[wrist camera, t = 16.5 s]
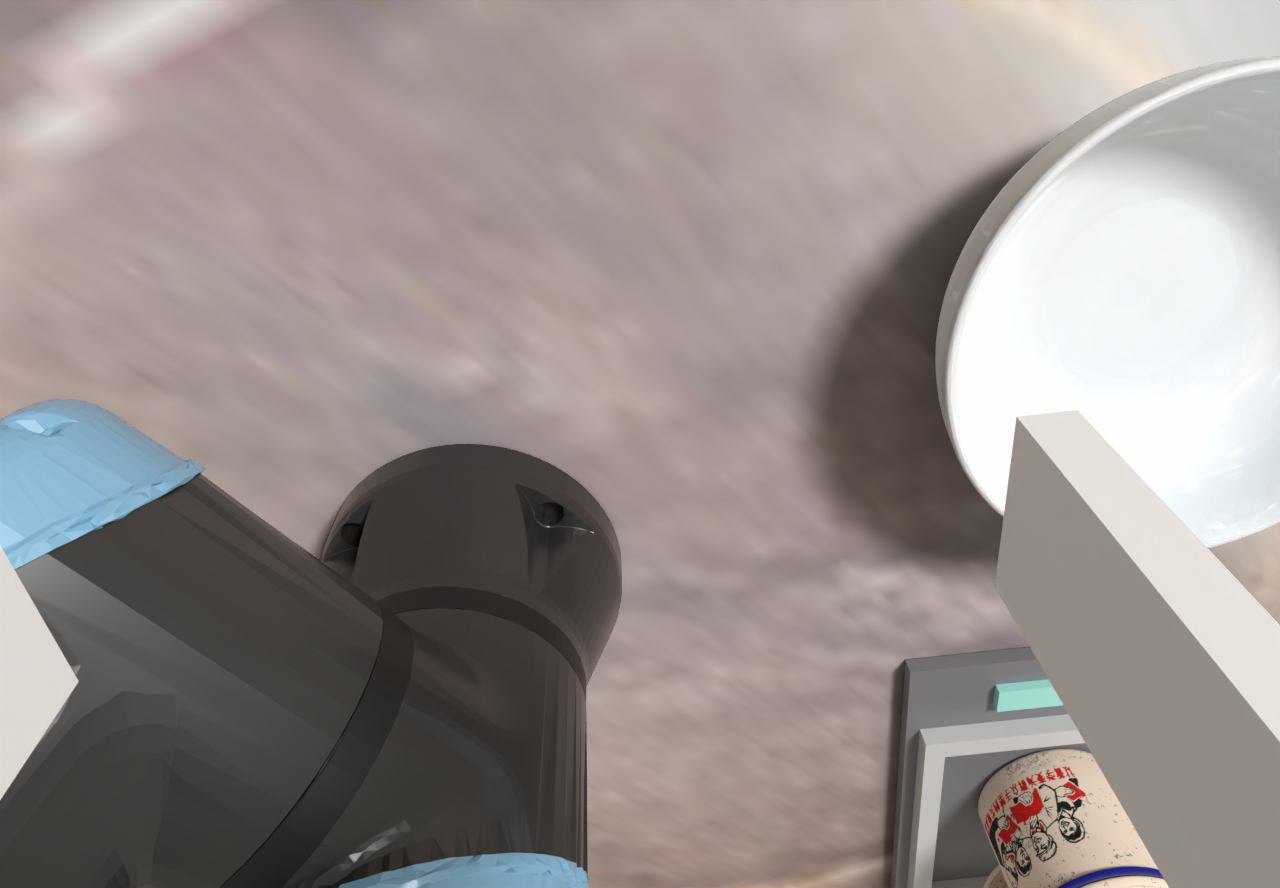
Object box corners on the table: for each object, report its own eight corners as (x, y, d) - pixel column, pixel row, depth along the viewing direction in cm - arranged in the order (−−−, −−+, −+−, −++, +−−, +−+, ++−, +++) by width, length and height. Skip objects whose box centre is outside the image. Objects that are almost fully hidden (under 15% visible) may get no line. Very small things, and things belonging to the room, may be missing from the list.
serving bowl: (1476, 138, 39) (1634, 181, 33) (1172, 520, 49) (1250, 606, 43) (1061, -53, 34) (1157, -42, 29) (820, 409, 44) (853, 488, 38)
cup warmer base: (890, 889, 64) (898, 919, 62) (905, 659, 53) (916, 687, 51) (1147, 863, 64) (1164, 893, 62) (1218, 627, 53) (1241, 654, 51)
